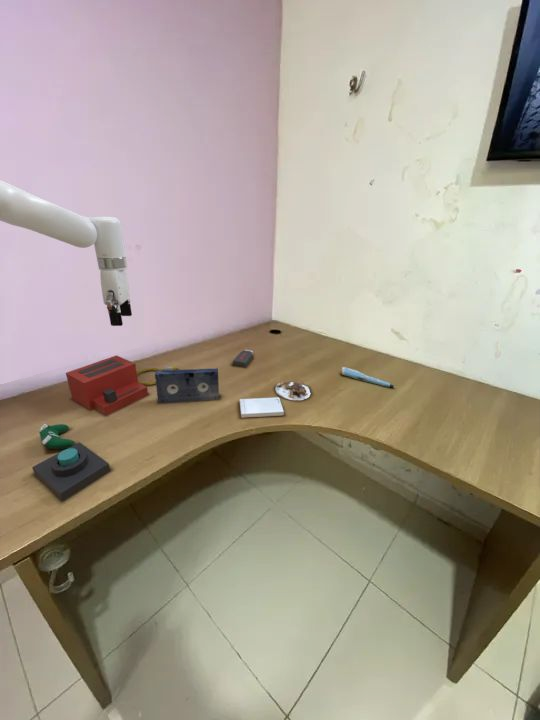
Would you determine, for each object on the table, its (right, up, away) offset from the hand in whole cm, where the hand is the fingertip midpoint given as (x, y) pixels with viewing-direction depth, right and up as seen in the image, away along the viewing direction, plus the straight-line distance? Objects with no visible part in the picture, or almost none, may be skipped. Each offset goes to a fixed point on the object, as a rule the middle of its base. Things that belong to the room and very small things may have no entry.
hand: (122, 320), depth 96 cm
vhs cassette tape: (+21, -25, 0) cm, 33 cm away
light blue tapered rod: (+81, -20, +16) cm, 85 cm away
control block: (+3, -37, -29) cm, 47 cm away
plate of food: (+54, -23, +7) cm, 59 cm away
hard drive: (+43, -27, -3) cm, 51 cm away
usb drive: (+36, -13, +27) cm, 47 cm away
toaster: (-3, -24, 0) cm, 24 cm away
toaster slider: (+1, -24, -8) cm, 25 cm away
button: (+3, -34, -30) cm, 45 cm away
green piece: (-6, -33, -20) cm, 39 cm away
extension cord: (+6, -19, +12) cm, 23 cm away
